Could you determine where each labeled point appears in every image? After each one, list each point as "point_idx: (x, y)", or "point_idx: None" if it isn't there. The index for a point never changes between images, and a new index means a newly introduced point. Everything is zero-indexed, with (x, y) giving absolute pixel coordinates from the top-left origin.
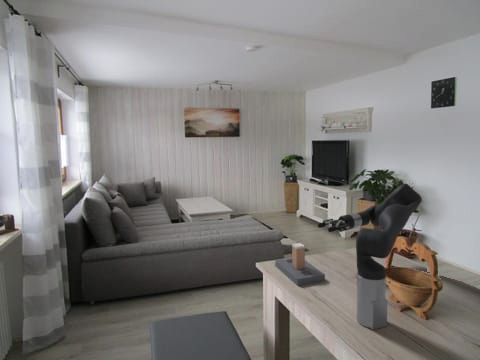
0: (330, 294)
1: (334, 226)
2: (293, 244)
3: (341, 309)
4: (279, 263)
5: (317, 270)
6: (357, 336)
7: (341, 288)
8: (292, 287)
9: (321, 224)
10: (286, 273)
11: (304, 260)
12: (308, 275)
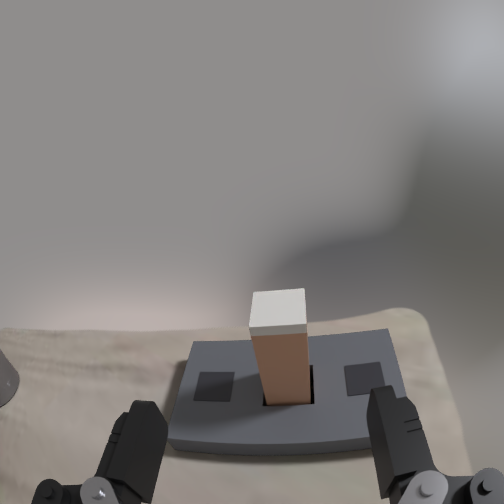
0: (100, 403)
1: (114, 471)
2: (297, 291)
3: (50, 377)
4: (350, 334)
5: (213, 434)
6: (9, 346)
7: (99, 453)
8: None
9: (380, 433)
10: None
11: (261, 380)
12: (194, 382)
